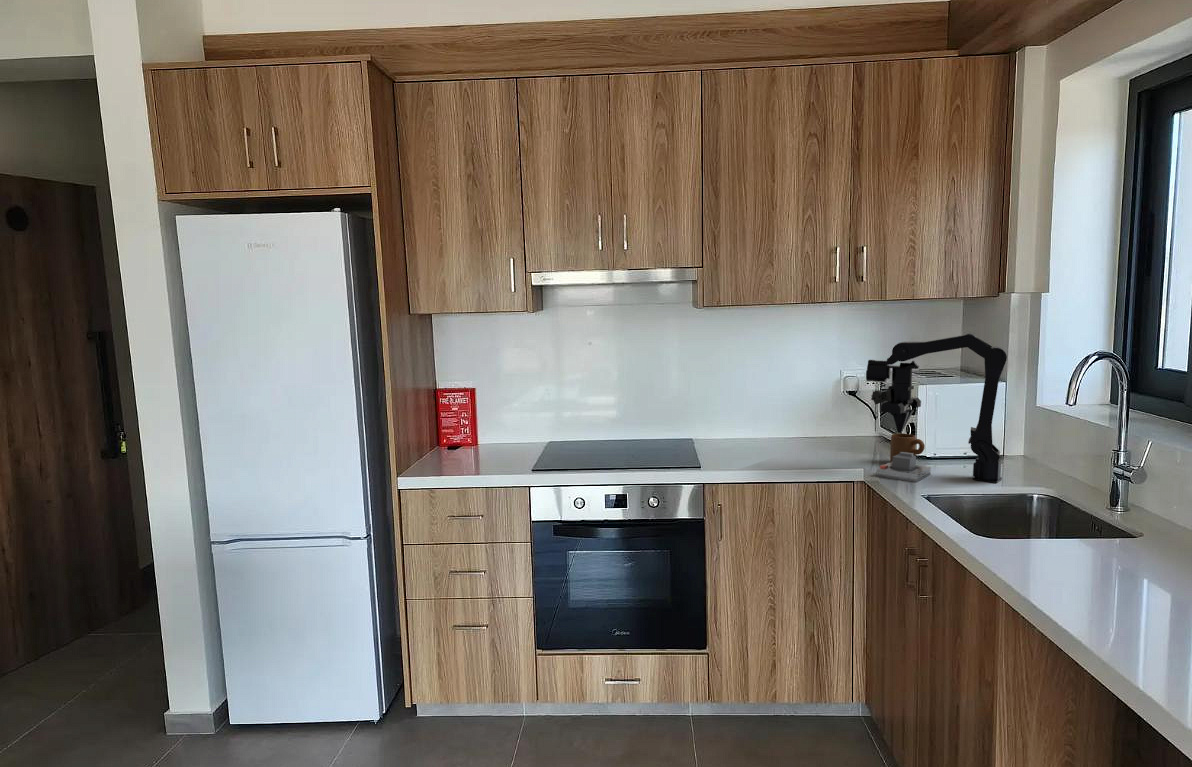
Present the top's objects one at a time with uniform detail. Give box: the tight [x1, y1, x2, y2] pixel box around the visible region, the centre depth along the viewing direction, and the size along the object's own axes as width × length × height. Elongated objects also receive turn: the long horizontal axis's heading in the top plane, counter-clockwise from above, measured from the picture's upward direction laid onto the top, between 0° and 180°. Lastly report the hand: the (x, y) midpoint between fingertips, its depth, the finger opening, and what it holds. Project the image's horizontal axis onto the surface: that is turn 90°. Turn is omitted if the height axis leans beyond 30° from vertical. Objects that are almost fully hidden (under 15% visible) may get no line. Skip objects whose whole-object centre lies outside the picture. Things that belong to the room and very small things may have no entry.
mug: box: [889, 432, 926, 462], centre depth 241 cm, size 12×8×9 cm, turn 26°
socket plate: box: [876, 462, 932, 483], centre depth 228 cm, size 12×12×3 cm
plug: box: [892, 452, 917, 472], centre depth 228 cm, size 5×5×6 cm
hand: (899, 432), depth 231 cm, fingers closed
